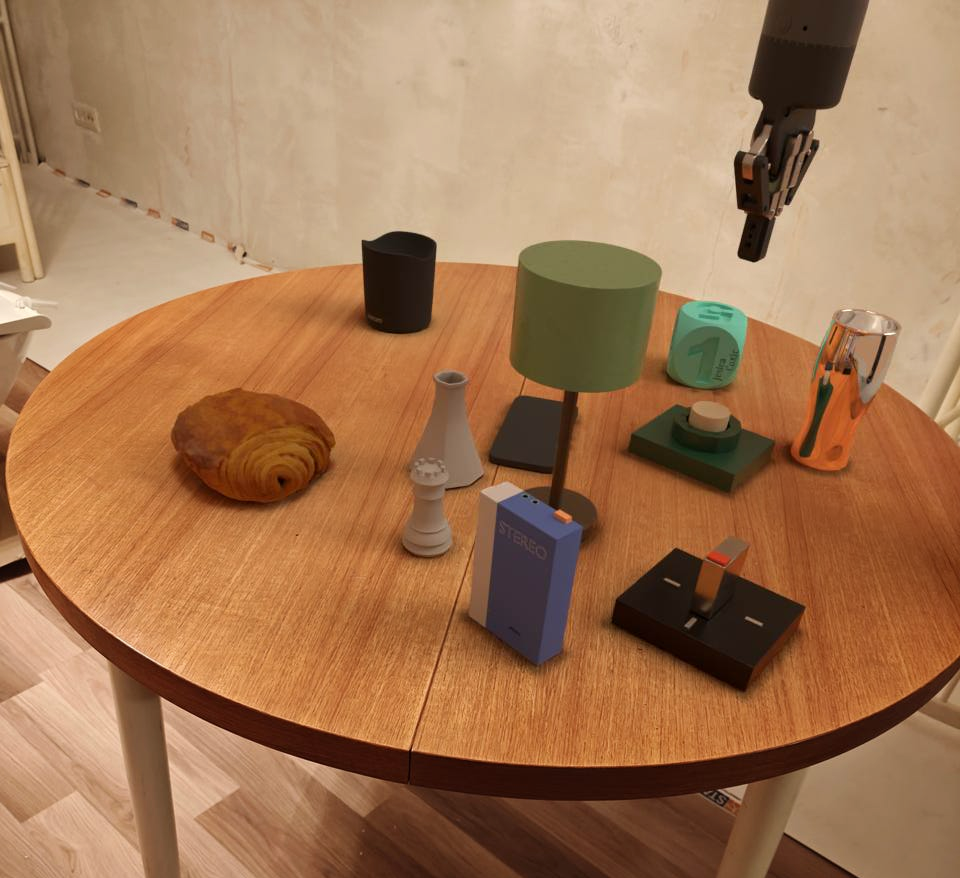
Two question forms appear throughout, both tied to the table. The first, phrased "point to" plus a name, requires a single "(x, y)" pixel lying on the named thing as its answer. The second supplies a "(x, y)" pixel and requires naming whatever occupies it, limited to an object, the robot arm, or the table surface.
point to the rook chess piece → (428, 511)
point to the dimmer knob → (719, 576)
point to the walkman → (523, 570)
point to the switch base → (702, 449)
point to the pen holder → (399, 281)
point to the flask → (450, 432)
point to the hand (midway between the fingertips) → (750, 258)
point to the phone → (529, 434)
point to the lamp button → (709, 416)
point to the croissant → (253, 444)
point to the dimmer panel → (707, 621)
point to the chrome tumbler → (844, 385)
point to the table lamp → (580, 336)
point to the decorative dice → (706, 344)
